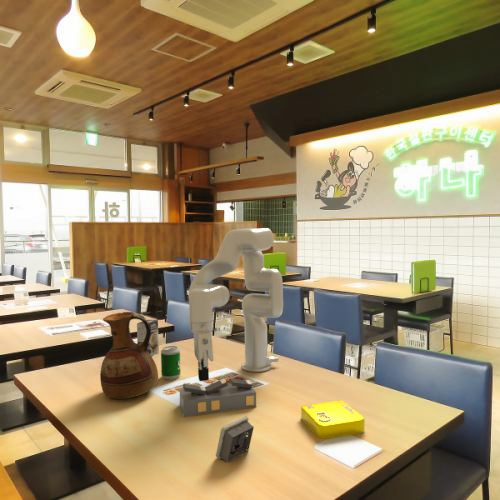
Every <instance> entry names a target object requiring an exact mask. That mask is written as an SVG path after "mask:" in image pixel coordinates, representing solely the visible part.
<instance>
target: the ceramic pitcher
mask: <svg viewBox="0 0 500 500" xmlns="http://www.w3.org/2000/svg"><path fill="white" fill-rule="evenodd" d="M102 319H103V320H102V321H103V322H105V323H107V324H108V325H109V327H110V333H111V336H112V340H113V341H112V347H111V348H110V349H109V350H108V352H107V353H106V354H105V355H104V358H103V360H102V362H101V363H102V364H101V366H100V367H101V368H100V374H99V375H100V377H99V378H100V387H101V390H102V393H103V394H104V395H105V396H106V397H107V398H110V399H115V400H116V399H117V400H121V399H127V398H128V399H129V398H132V397H134V398H135V397H136V396H140V395H143V394H145V393H147V392H149V391H151V390H153V389H154V388H156V386H157V385H158V383H159V371H158V366H157V365H156V362H155V360H154V358H153V356H151V355H150V354H149V352H148V344H149V339H150V326H149V324H148V322H147V320H148V319H147V318H146V317H145V316H144V315H142V314H140V313H138V312H134V311H123V312H117V313H112V314H109V315H106V316H105V317H103V318H102ZM132 320H140V322H143V323H144V324H145V327H146V336H145V339H144V342H143V343H142V344H137V343H136V342H135V341H134V340H133V337H132V334H131V332H130V331H131V329H130V323H131V321H132Z"/></svg>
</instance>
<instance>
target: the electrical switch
mask: <svg viewBox="0 0 500 500" xmlns="http://www.w3.org/2000/svg"><path fill="white" fill-rule="evenodd" d="M254 427H255V426H254V425H252V424H251V423H250V419H249V417H248V416H243V417H242V418H239V419H237V420H235V421H232V422H231V423H229V424H226V425H224V426H222V427H221V429H220V432H219V433H220V434H219V439H218V443H217V449H216V453H215V457H216V458H217V459H218V460H219V459H222V460H224V461H225V462H226V463H228V464H229V462H231V461H233V460H235V459H237V458H238V457H240V456H242V455H244V454H246V453H247V452H249V449H250V445H251V443H252V437H253V432H254Z"/></svg>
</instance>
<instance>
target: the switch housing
mask: <svg viewBox="0 0 500 500" xmlns="http://www.w3.org/2000/svg"><path fill="white" fill-rule="evenodd" d="M227 384H228V386H226V387H224V388H222V389H220V390H217V391H215V392H213V393H211V394H209V395H208V393H207V391H206V393H205V395H203V394H197V393H192V392H186V391H184V389H179V406H180V408H181V412H182V416H183V418H187V417H193V416H200V415H201V416H202V415H206V414H207V415H208V414H215V413H221V412H229V411H235V410H236V411H237V410H243V409H250V408H256V407H257V392H256V390H255V389H254V387H252V388H246V387H237V386H232V385H231V383H227ZM205 389H206V388H205Z"/></svg>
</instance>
